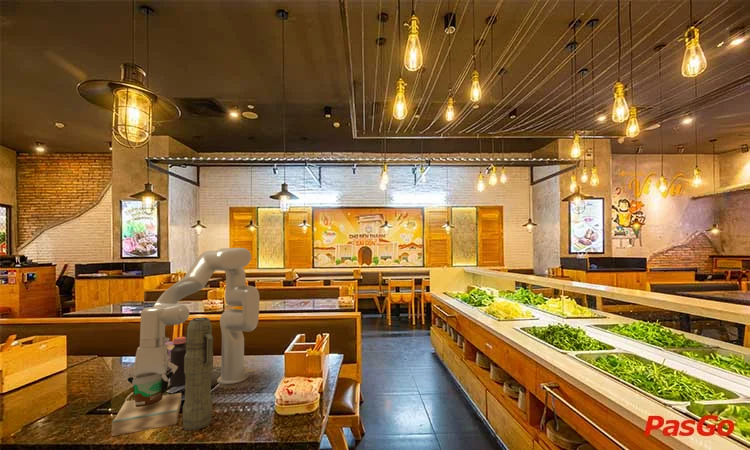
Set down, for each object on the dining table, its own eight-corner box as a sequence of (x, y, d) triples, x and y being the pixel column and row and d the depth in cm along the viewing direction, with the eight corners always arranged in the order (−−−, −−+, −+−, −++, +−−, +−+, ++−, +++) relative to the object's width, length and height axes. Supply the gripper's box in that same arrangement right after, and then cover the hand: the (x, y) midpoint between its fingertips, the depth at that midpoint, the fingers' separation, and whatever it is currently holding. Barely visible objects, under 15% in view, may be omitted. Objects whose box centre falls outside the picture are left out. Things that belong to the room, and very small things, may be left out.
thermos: (200, 433, 113) (202, 322, 115) (173, 427, 117) (176, 320, 120) (221, 420, 121) (223, 317, 124) (195, 415, 125) (197, 315, 128)
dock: (181, 403, 136) (181, 392, 136) (176, 424, 119) (176, 410, 119) (125, 412, 128) (125, 400, 129) (111, 436, 112) (111, 421, 112)
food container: (148, 409, 118) (147, 378, 119) (132, 409, 119) (131, 378, 120) (174, 394, 130) (174, 366, 131) (159, 393, 131) (159, 366, 132)
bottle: (190, 381, 159) (191, 336, 161) (180, 387, 152) (182, 339, 154) (176, 381, 160) (177, 336, 161) (166, 386, 153) (167, 339, 155)
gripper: (181, 337, 133) (179, 386, 131) (125, 343, 126) (123, 394, 124) (179, 342, 126) (177, 393, 124) (120, 348, 119) (118, 402, 117)
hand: (150, 393), depth 124 cm, fingers closed on food container, 7 cm apart
